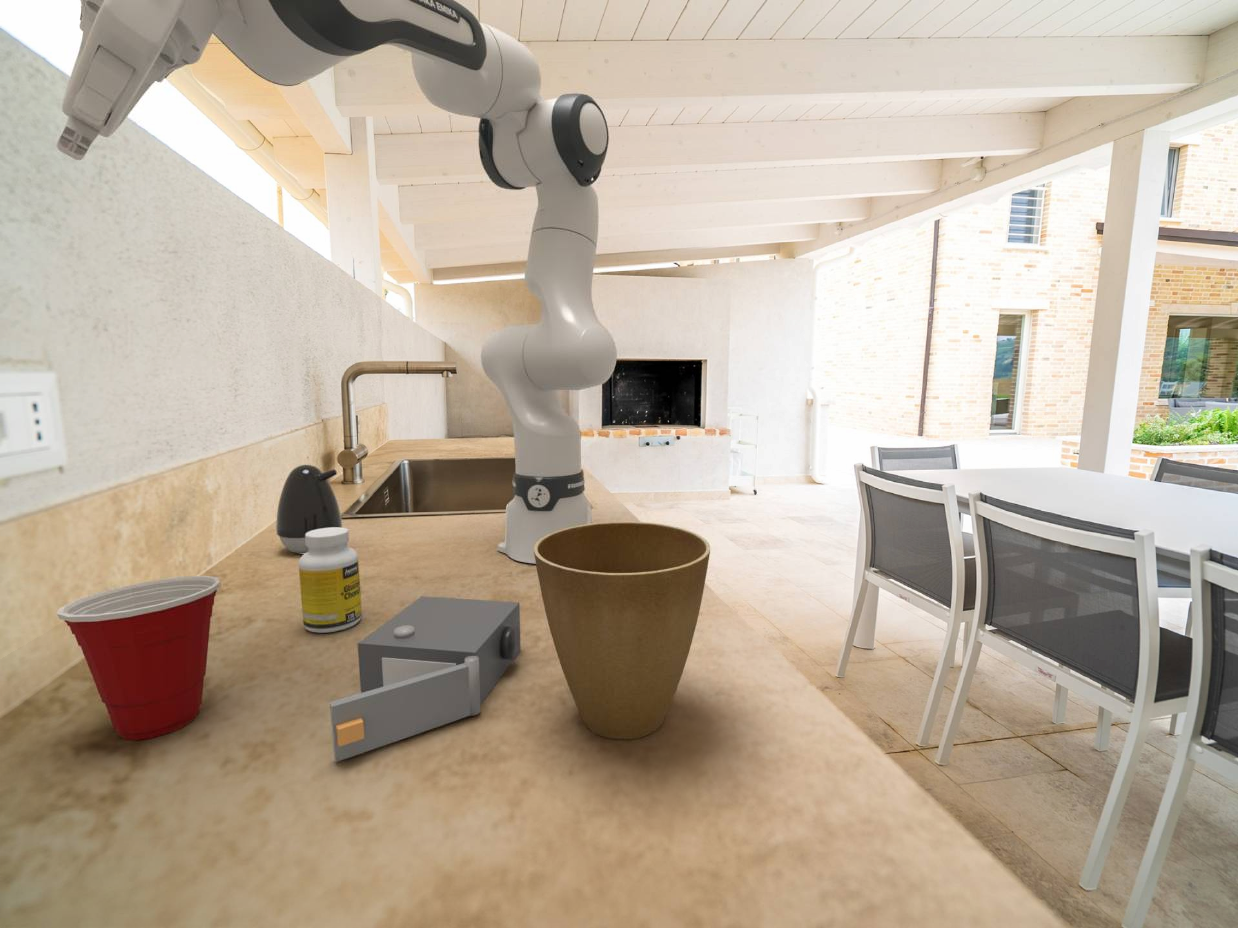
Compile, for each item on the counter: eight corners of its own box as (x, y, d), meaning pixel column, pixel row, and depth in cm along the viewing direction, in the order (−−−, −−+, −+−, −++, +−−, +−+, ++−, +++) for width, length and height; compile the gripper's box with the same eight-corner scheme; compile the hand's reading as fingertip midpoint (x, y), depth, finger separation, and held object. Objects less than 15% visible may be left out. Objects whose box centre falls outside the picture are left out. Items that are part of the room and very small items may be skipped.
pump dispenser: (326, 558, 97) (320, 469, 95) (265, 558, 97) (257, 469, 95) (355, 541, 107) (349, 460, 105) (299, 541, 107) (292, 460, 105)
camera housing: (424, 642, 66) (421, 591, 65) (529, 650, 64) (528, 598, 63) (360, 699, 54) (356, 638, 53) (487, 711, 52) (484, 648, 51)
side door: (333, 755, 46) (329, 696, 45) (477, 706, 52) (475, 654, 52) (337, 766, 44) (333, 706, 44) (484, 714, 51) (482, 661, 50)
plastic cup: (211, 676, 58) (199, 561, 57) (251, 714, 52) (239, 586, 50) (64, 725, 50) (45, 592, 48) (89, 778, 43) (68, 626, 42)
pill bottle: (339, 637, 67) (332, 540, 66) (291, 632, 69) (283, 537, 67) (373, 615, 74) (367, 526, 72) (328, 611, 75) (322, 524, 73)
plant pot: (550, 673, 59) (548, 520, 57) (697, 675, 59) (700, 521, 56) (522, 770, 44) (517, 569, 42) (717, 774, 44) (722, 571, 42)
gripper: (226, -22, 45) (153, 122, 43) (162, 77, 59) (103, 192, 56) (128, -105, 41) (39, 50, 38) (83, 23, 54) (14, 145, 51)
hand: (77, 136), depth 47 cm, fingers open, 8 cm apart
